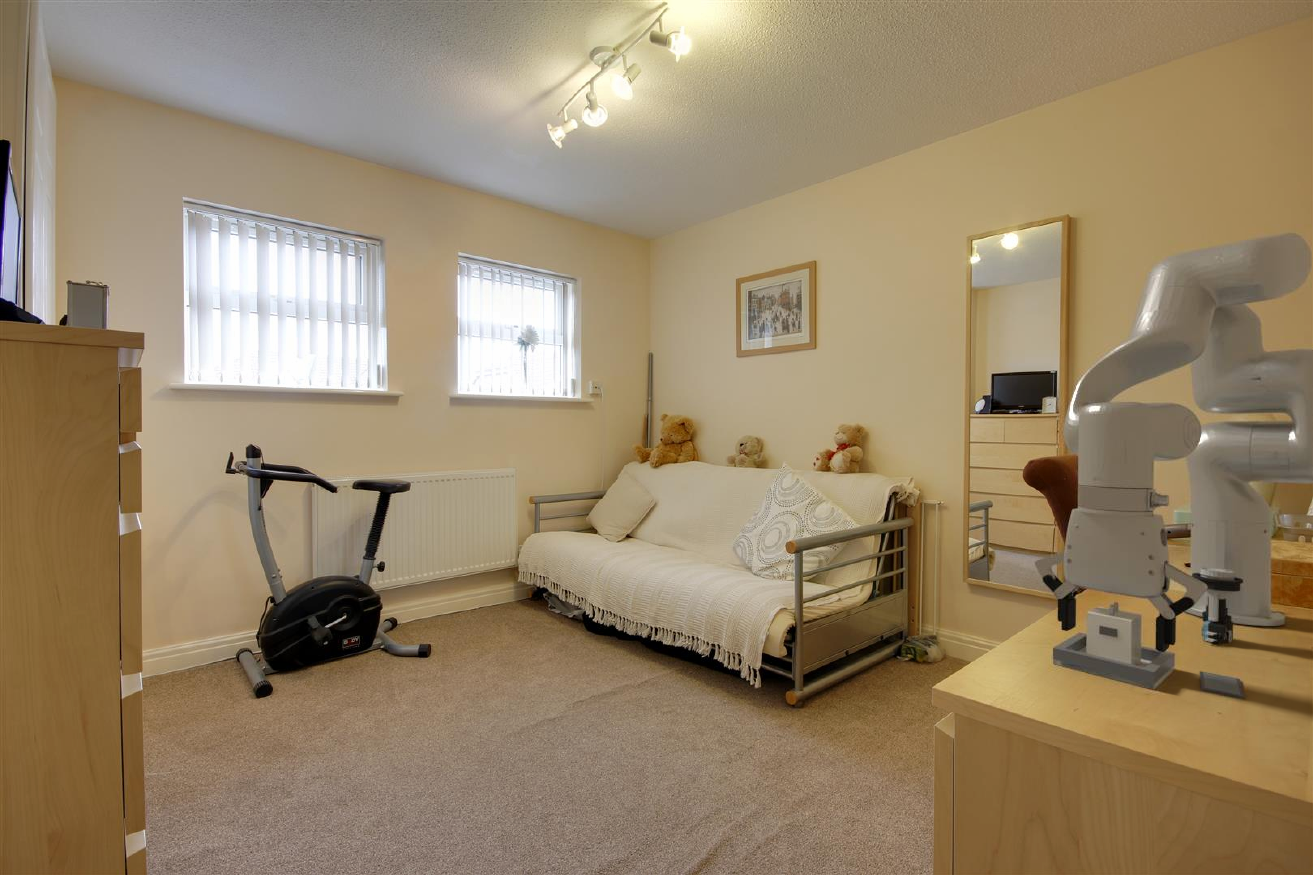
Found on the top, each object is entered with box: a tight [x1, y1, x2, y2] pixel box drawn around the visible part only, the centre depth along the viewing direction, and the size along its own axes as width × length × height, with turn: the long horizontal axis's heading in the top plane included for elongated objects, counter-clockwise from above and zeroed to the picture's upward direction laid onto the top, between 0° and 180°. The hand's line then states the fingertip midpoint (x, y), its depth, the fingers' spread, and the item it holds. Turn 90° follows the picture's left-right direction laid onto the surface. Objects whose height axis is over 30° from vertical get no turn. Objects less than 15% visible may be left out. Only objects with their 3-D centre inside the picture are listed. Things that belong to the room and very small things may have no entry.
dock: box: [1052, 632, 1176, 691], centre depth 75 cm, size 10×10×2 cm
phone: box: [1199, 670, 1246, 700], centre depth 70 cm, size 7×4×1 cm, turn 139°
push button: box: [1192, 567, 1243, 645], centre depth 85 cm, size 7×5×10 cm
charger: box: [1086, 601, 1142, 666], centre depth 75 cm, size 5×4×7 cm
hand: (1113, 638), depth 75 cm, fingers open, 9 cm apart
